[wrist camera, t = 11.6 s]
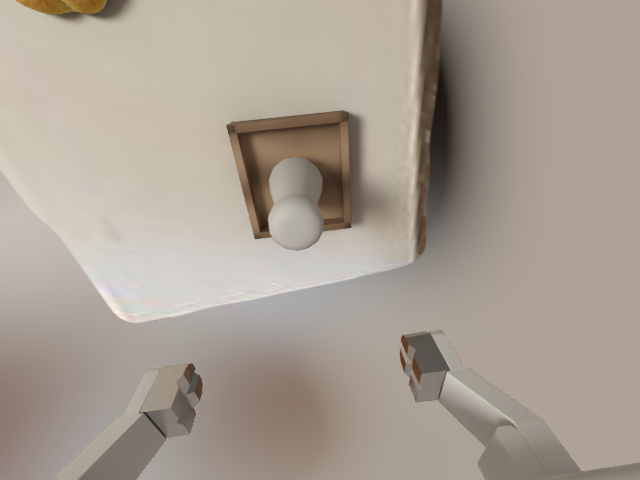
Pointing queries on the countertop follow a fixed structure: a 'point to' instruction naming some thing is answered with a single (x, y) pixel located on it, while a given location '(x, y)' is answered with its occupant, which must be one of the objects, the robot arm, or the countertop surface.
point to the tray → (294, 141)
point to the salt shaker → (295, 204)
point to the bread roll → (65, 6)
